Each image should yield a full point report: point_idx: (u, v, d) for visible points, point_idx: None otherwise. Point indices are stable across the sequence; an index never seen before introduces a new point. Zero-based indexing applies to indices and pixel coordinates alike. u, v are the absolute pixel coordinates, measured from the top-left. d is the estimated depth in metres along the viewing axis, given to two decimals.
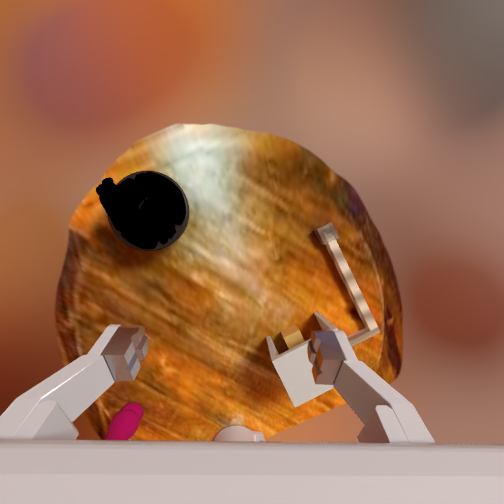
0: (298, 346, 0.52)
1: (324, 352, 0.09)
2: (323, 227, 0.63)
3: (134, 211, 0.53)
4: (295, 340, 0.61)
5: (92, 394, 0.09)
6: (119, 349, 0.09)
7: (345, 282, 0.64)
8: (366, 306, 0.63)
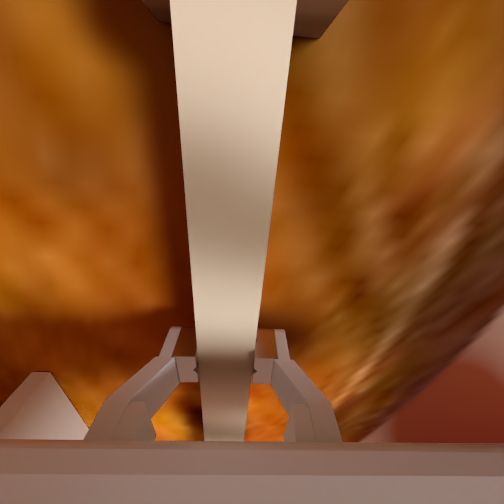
0: None
1: (258, 350, 0.09)
2: None
3: None
4: None
5: (163, 395, 0.09)
6: (188, 351, 0.09)
7: None
8: None
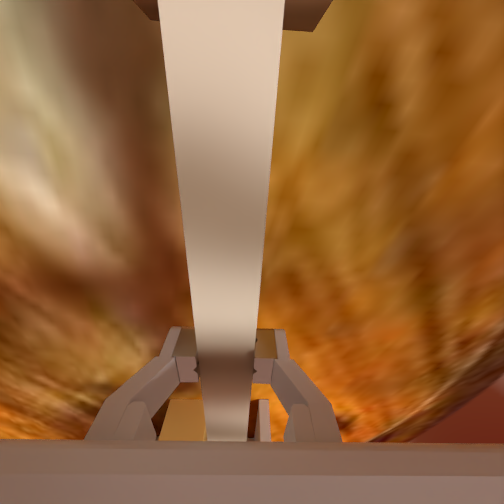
0: None
1: (258, 350, 0.09)
2: None
3: None
4: None
5: (163, 395, 0.09)
6: (188, 351, 0.09)
7: None
8: None
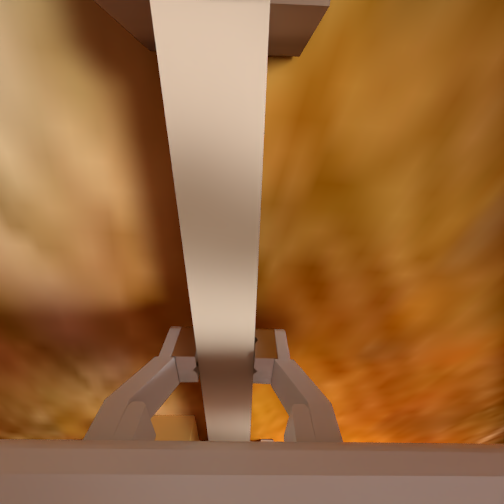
0: None
1: (258, 351, 0.09)
2: None
3: None
4: None
5: (163, 395, 0.09)
6: (188, 351, 0.09)
7: None
8: None
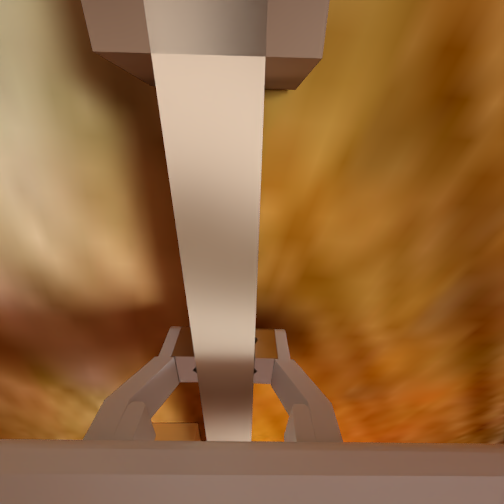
0: None
1: (258, 350, 0.09)
2: None
3: None
4: None
5: (163, 395, 0.09)
6: (188, 351, 0.09)
7: None
8: None
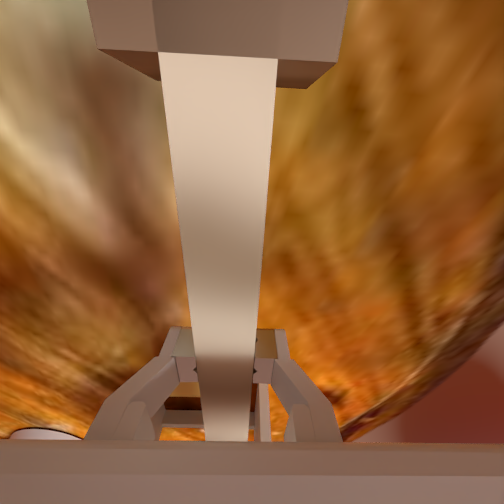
0: None
1: (258, 350, 0.09)
2: None
3: None
4: (191, 383, 0.24)
5: (163, 395, 0.09)
6: (188, 351, 0.09)
7: None
8: None
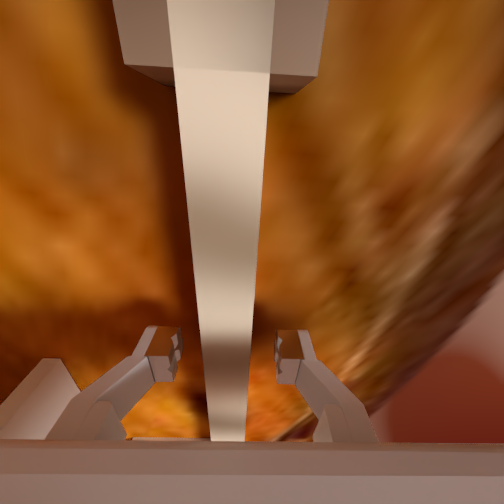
0: None
1: (284, 351, 0.09)
2: None
3: None
4: None
5: (136, 395, 0.09)
6: (162, 350, 0.09)
7: None
8: None
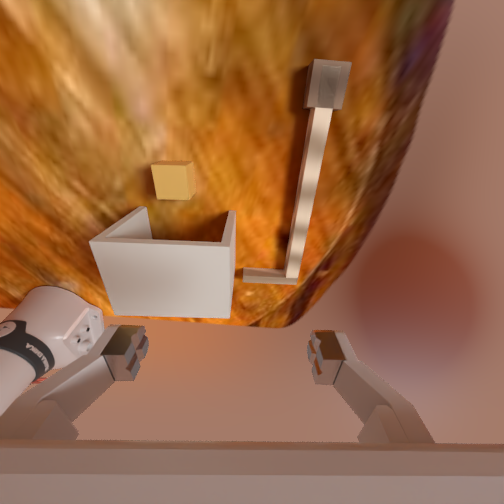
0: (148, 242, 0.27)
1: (324, 352, 0.09)
2: (328, 64, 0.28)
3: None
4: (172, 180, 0.32)
5: (92, 394, 0.09)
6: (119, 349, 0.09)
7: (297, 199, 0.37)
8: (301, 247, 0.40)
